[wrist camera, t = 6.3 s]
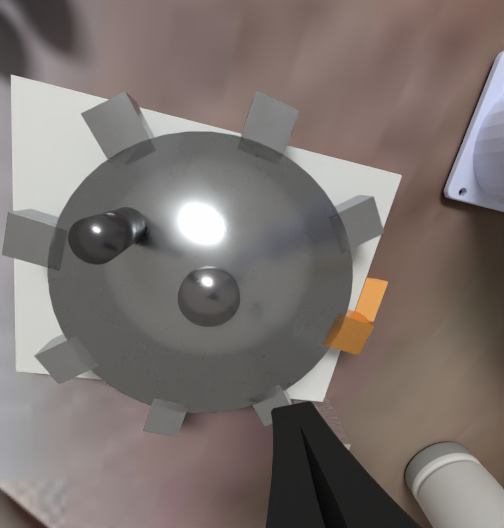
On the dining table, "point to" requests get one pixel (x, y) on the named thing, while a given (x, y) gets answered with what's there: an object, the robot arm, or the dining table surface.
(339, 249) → the sprocket
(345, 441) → the box with orange tab
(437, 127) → the dining table surface
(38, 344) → the base plate
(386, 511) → the robot arm
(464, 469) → the travel mug
